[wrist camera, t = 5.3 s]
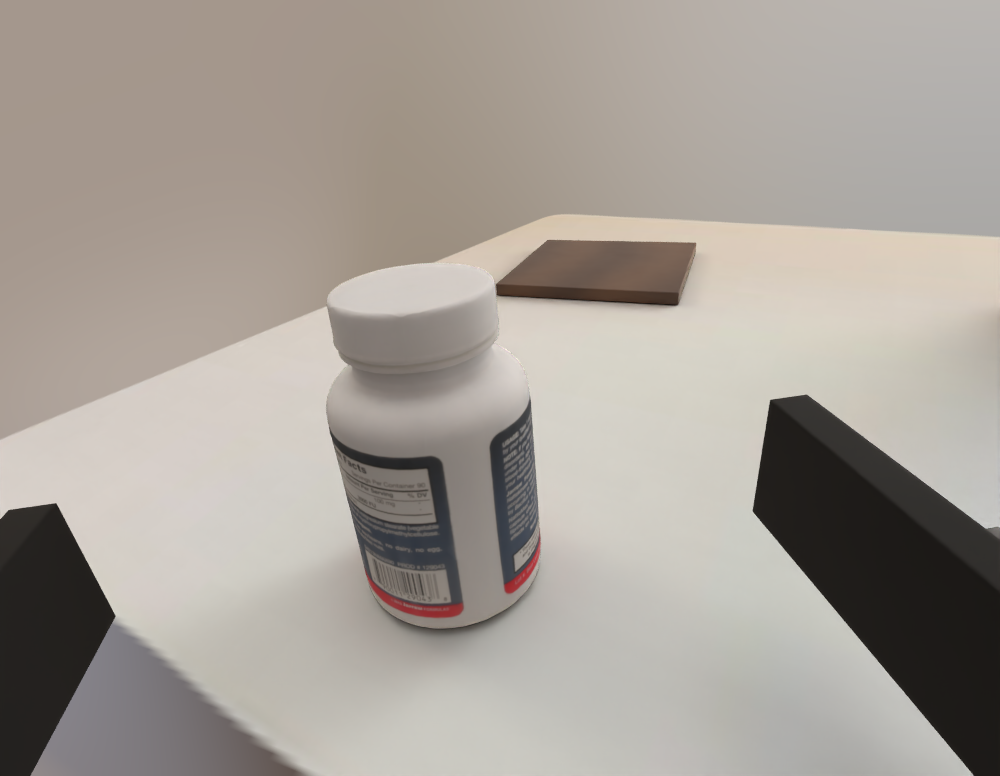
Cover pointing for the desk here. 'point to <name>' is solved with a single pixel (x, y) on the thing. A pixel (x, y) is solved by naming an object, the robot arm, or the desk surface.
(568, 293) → the coaster
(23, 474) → the desk surface
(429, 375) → the pill bottle
